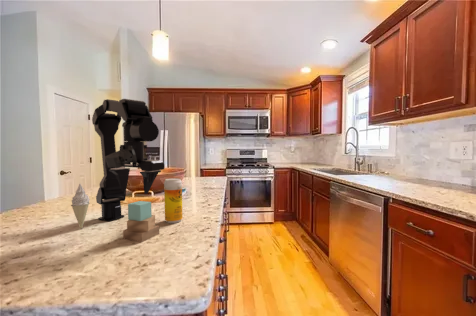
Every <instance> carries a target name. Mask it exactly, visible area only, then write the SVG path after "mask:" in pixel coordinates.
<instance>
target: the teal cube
mask: <svg viewBox="0 0 476 316" xmlns="http://www.w3.org/2000/svg"><path fill="white" fill-rule="evenodd" d="M127 209H128V210H127V215H128V216H127V221H128V220H136V221H142V220H145V219H147V218H150V217H152V215H153V213H152V201H145V200H138V201H135V202H130V203H128V204H127Z"/></svg>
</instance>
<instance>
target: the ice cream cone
mask: <svg viewBox="0 0 476 316" xmlns="http://www.w3.org/2000/svg"><path fill="white" fill-rule="evenodd" d="M71 203H72V204H70V206H71V207H72V210H73V213H74V216H75V219H76V221H77V224H78V226H79V229H81V230H82V229H83V227H84V223H85V220H86V216H87V213H88V209H89V206H90V196H89V195H88V194H86V190H85V189H84V187H83V186H82V183H79V184H78V187H77V189H76V190H75V195H73V196H72V198H71Z"/></svg>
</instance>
